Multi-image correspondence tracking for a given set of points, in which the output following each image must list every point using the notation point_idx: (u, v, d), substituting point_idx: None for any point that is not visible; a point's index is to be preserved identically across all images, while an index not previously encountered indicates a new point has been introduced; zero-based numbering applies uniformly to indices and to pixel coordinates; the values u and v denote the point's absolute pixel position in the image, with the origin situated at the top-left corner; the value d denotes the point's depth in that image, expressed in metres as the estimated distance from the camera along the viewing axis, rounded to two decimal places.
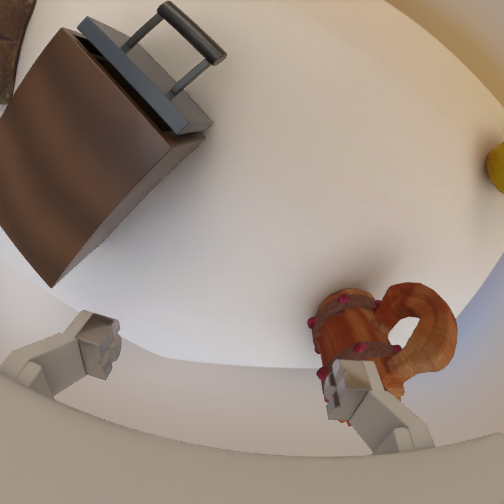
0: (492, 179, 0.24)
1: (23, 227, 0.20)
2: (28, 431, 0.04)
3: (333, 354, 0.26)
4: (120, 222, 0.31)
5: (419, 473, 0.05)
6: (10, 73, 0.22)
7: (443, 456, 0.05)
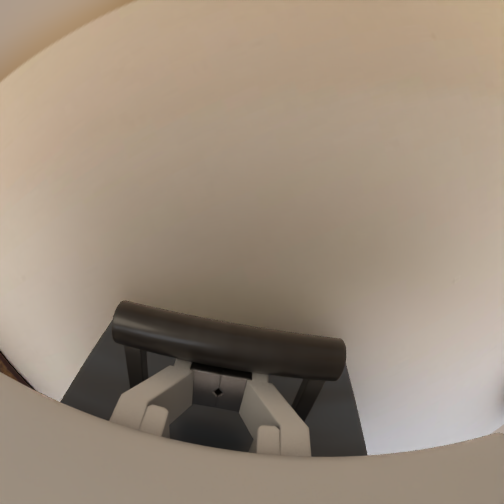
0: None
1: None
2: (28, 431, 0.04)
3: None
4: None
5: (419, 473, 0.05)
6: None
7: (443, 456, 0.05)
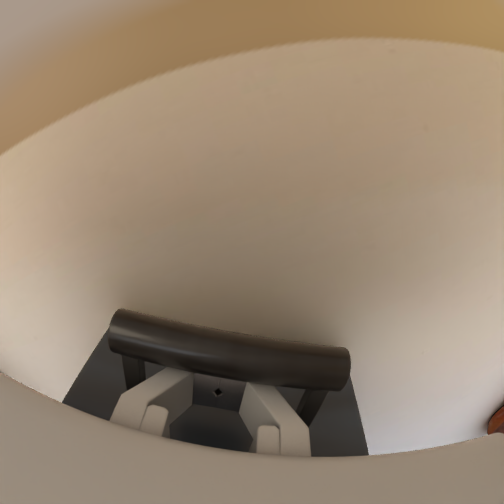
0: None
1: None
2: (28, 431, 0.04)
3: None
4: None
5: (419, 473, 0.05)
6: None
7: (443, 456, 0.05)
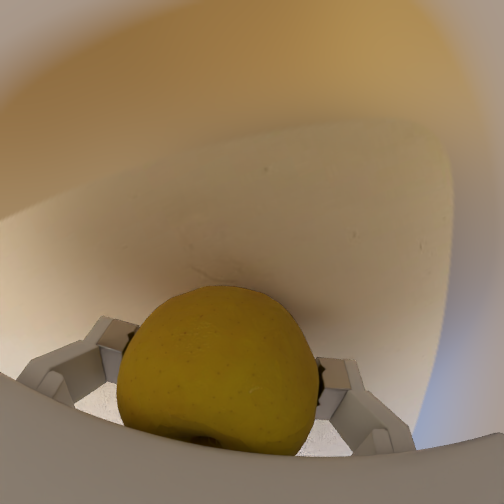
0: None
1: None
2: (28, 431, 0.04)
3: None
4: None
5: (419, 473, 0.05)
6: None
7: (443, 456, 0.05)
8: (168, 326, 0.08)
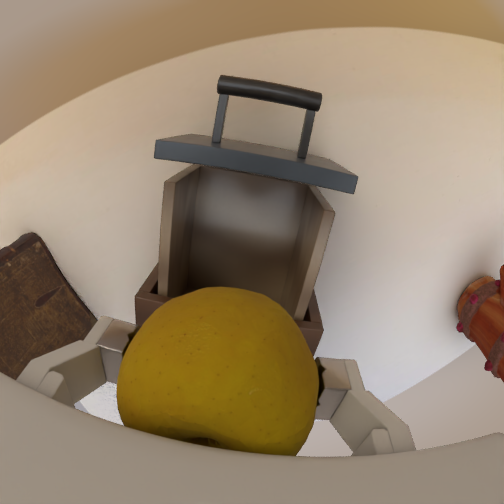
0: None
1: None
2: (28, 431, 0.04)
3: (489, 347, 0.24)
4: None
5: (419, 474, 0.05)
6: (83, 311, 0.34)
7: (443, 456, 0.05)
8: (168, 328, 0.08)
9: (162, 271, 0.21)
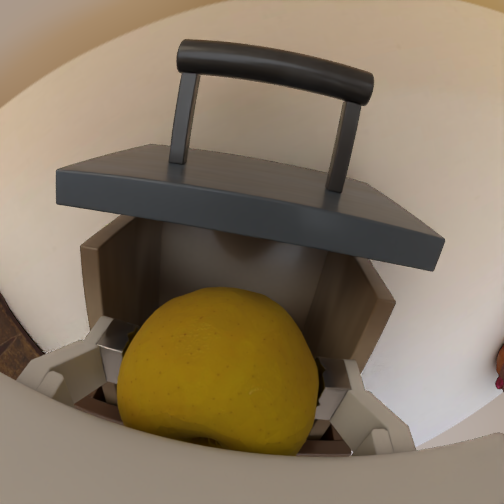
0: None
1: None
2: (28, 431, 0.04)
3: None
4: None
5: (419, 473, 0.05)
6: None
7: (443, 456, 0.05)
8: (168, 327, 0.08)
9: None
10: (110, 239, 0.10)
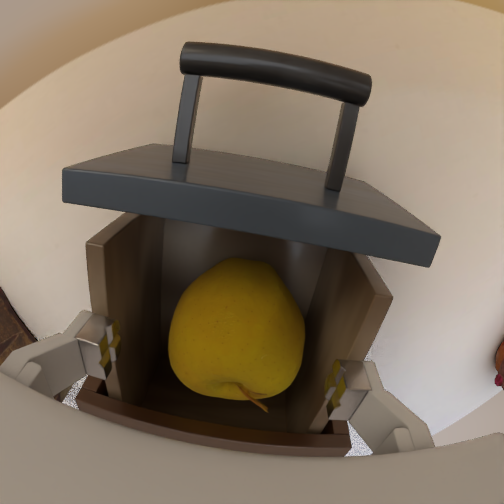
0: None
1: None
2: (28, 431, 0.04)
3: None
4: None
5: (419, 474, 0.05)
6: None
7: (443, 456, 0.05)
8: (204, 316, 0.12)
9: None
10: (115, 236, 0.10)
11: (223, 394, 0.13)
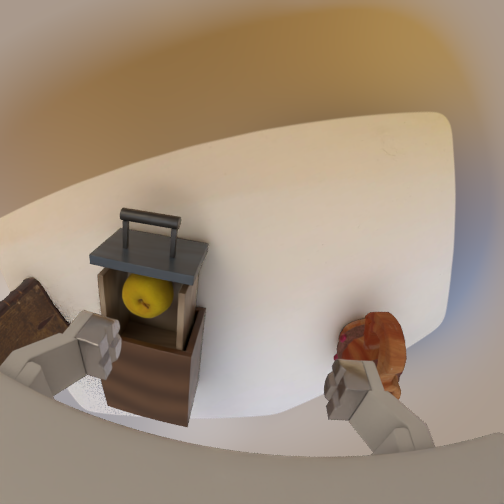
0: None
1: (153, 411, 0.41)
2: (28, 431, 0.04)
3: None
4: (199, 367, 0.50)
5: (419, 474, 0.05)
6: None
7: (443, 456, 0.05)
8: (135, 274, 0.35)
9: None
10: (106, 272, 0.33)
11: (137, 309, 0.35)
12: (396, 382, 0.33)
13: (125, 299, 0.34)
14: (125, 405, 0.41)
